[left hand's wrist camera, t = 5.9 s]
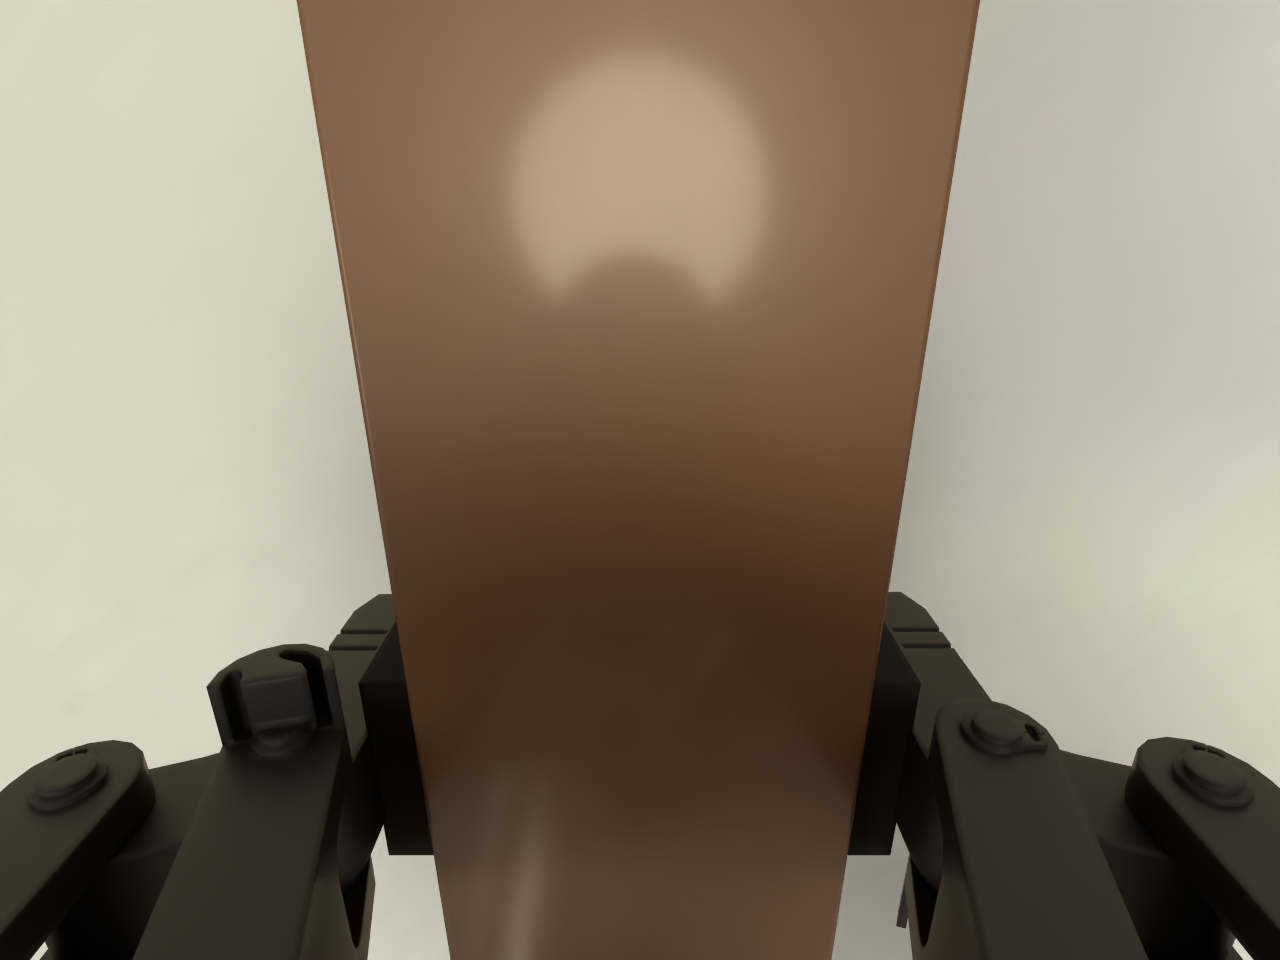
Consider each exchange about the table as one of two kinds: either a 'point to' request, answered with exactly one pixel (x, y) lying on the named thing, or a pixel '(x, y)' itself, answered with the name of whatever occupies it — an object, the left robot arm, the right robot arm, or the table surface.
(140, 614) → the table surface
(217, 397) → the table surface
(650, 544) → the bar
